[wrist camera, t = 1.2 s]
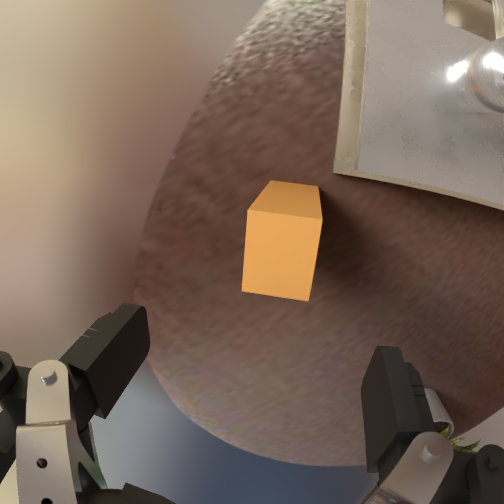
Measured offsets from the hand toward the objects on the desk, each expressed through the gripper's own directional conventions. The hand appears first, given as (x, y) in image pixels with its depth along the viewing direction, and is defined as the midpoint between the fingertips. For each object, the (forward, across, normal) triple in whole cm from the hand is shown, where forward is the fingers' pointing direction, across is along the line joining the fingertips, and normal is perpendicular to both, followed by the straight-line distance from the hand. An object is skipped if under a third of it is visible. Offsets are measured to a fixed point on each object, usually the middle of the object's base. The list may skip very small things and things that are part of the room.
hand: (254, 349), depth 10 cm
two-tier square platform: (+18, -12, -14) cm, 26 cm away
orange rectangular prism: (+18, 0, 0) cm, 18 cm away
